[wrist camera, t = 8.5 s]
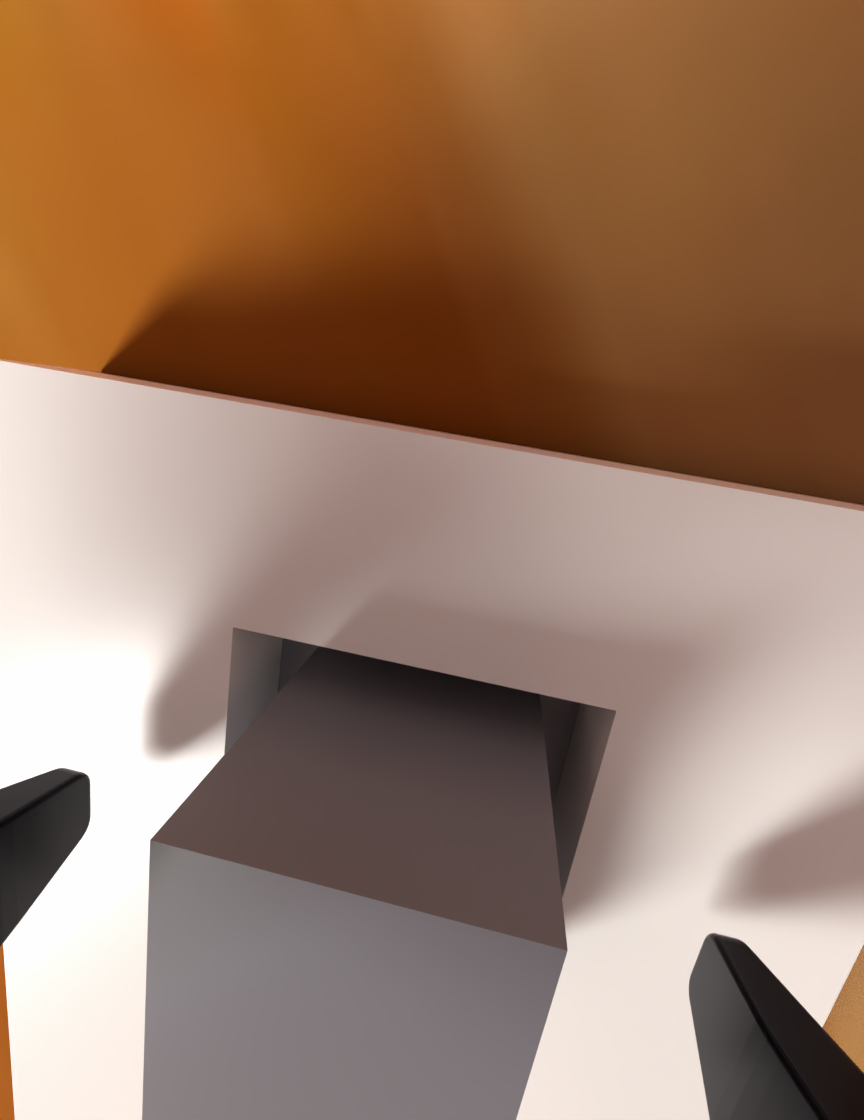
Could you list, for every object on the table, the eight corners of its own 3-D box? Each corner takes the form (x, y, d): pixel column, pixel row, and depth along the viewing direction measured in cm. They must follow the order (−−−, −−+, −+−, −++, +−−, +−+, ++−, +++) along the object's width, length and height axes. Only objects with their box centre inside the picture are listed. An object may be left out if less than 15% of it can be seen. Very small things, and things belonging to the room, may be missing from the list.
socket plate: (904, 511, 8) (1061, 545, 6) (616, 1218, 13) (640, 1394, 11) (98, 371, 10) (-38, 354, 7) (100, 1058, 15) (19, 1183, 12)
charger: (538, 685, 9) (567, 950, 5) (494, 864, 11) (482, 1229, 6) (325, 638, 10) (150, 840, 5) (303, 815, 11) (141, 1120, 6)
